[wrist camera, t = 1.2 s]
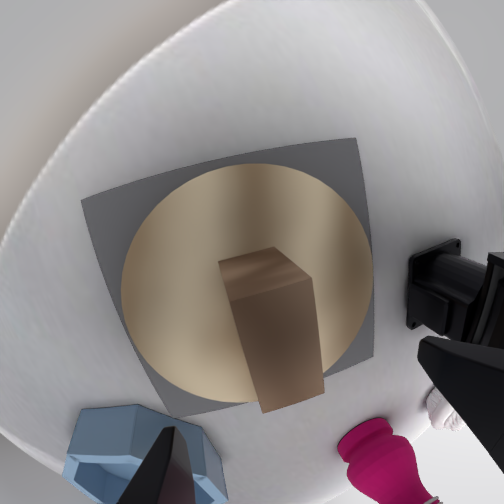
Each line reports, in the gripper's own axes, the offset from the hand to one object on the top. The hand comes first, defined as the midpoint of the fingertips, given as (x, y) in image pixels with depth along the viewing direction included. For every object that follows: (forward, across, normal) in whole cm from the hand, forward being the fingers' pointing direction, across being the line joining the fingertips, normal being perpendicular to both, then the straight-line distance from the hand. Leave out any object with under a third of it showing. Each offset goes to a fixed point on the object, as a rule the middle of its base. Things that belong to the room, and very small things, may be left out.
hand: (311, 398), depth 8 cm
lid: (+8, 0, 0) cm, 8 cm away
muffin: (+9, -19, +21) cm, 30 cm away
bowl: (+9, +13, +13) cm, 20 cm away
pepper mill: (+9, -8, +21) cm, 24 cm away
